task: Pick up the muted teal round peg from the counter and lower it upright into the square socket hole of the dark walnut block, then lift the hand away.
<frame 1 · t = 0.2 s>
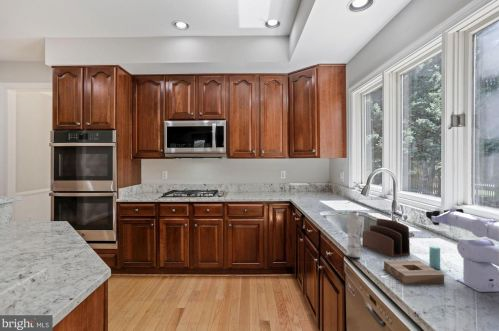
hand: (435, 213, 114), 21 cm above the countertop, tool horizontal, fingers open, 7 cm apart
letter holder: (384, 250, 134), on the countertop
plastic bottle: (354, 257, 124), on the countertop
socket block: (412, 275, 103), on the countertop
peg: (434, 267, 111), on the countertop
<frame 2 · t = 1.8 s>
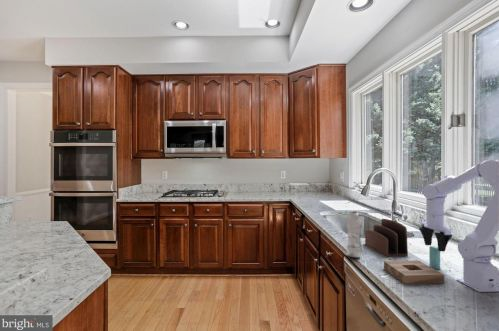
hand: (434, 248, 111), 8 cm above the countertop, tool pointing down, fingers open, 7 cm apart
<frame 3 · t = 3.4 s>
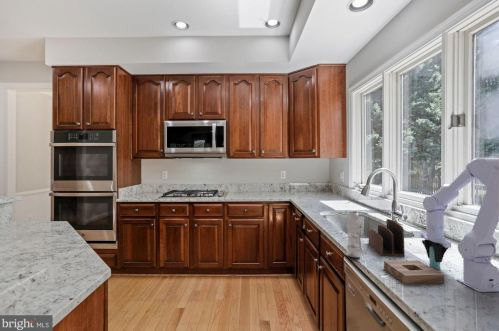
hand: (434, 260, 111), 3 cm above the countertop, tool pointing down, fingers closed on peg, 4 cm apart
peg: (434, 267, 111), on the countertop, touching gripper
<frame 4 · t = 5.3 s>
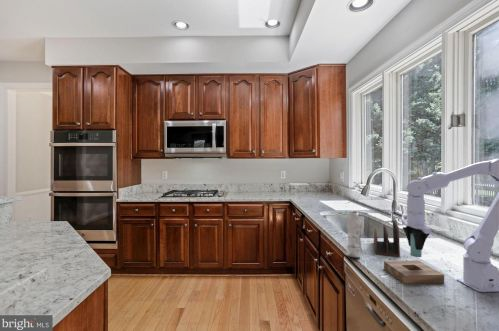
hand: (415, 247, 104), 10 cm above the countertop, tool pointing down, fingers closed on peg, 4 cm apart
peg: (415, 255, 104), point 7 cm above the countertop, touching gripper
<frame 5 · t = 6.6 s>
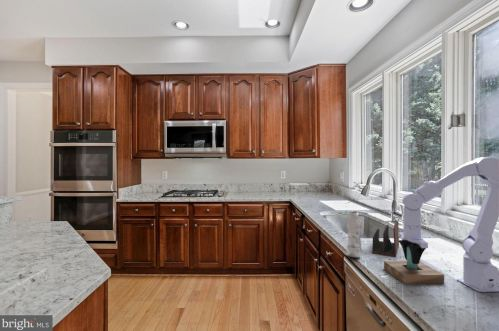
hand: (412, 261, 103), 5 cm above the countertop, tool pointing down, fingers closed on peg, 4 cm apart
peg: (412, 269, 103), point 2 cm above the countertop, touching gripper
when the fingers open (4 cm above the countertop, at t = 7.6 s): peg drops 1 cm, resting in socket block.
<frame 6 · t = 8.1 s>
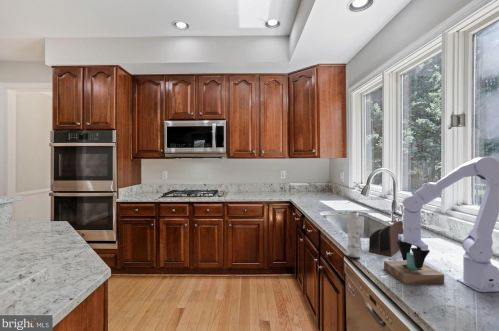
hand: (412, 263, 103), 4 cm above the countertop, tool pointing down, fingers open, 7 cm apart
peg: (412, 275, 103), resting in socket block
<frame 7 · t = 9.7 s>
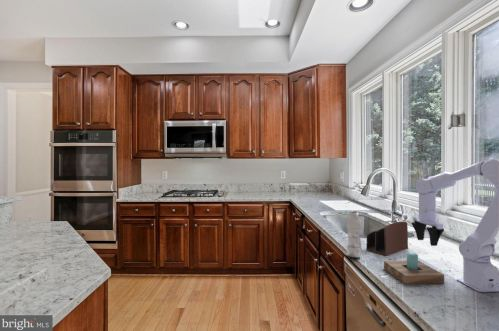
hand: (427, 242, 111), 10 cm above the countertop, tool pointing down, fingers open, 7 cm apart
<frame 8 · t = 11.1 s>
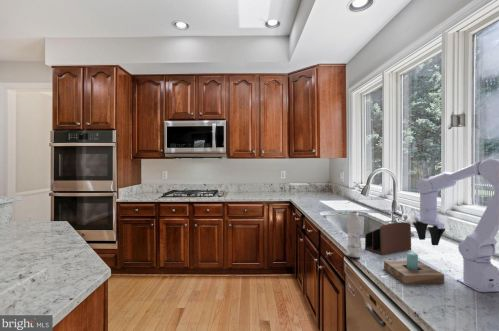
hand: (428, 242, 112), 10 cm above the countertop, tool pointing down, fingers open, 7 cm apart
at the end: peg 0.1 cm off-centre on the socket block, point 0.0 cm above the socket block's base; peg tilted 0°; the gripper is holding nothing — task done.
